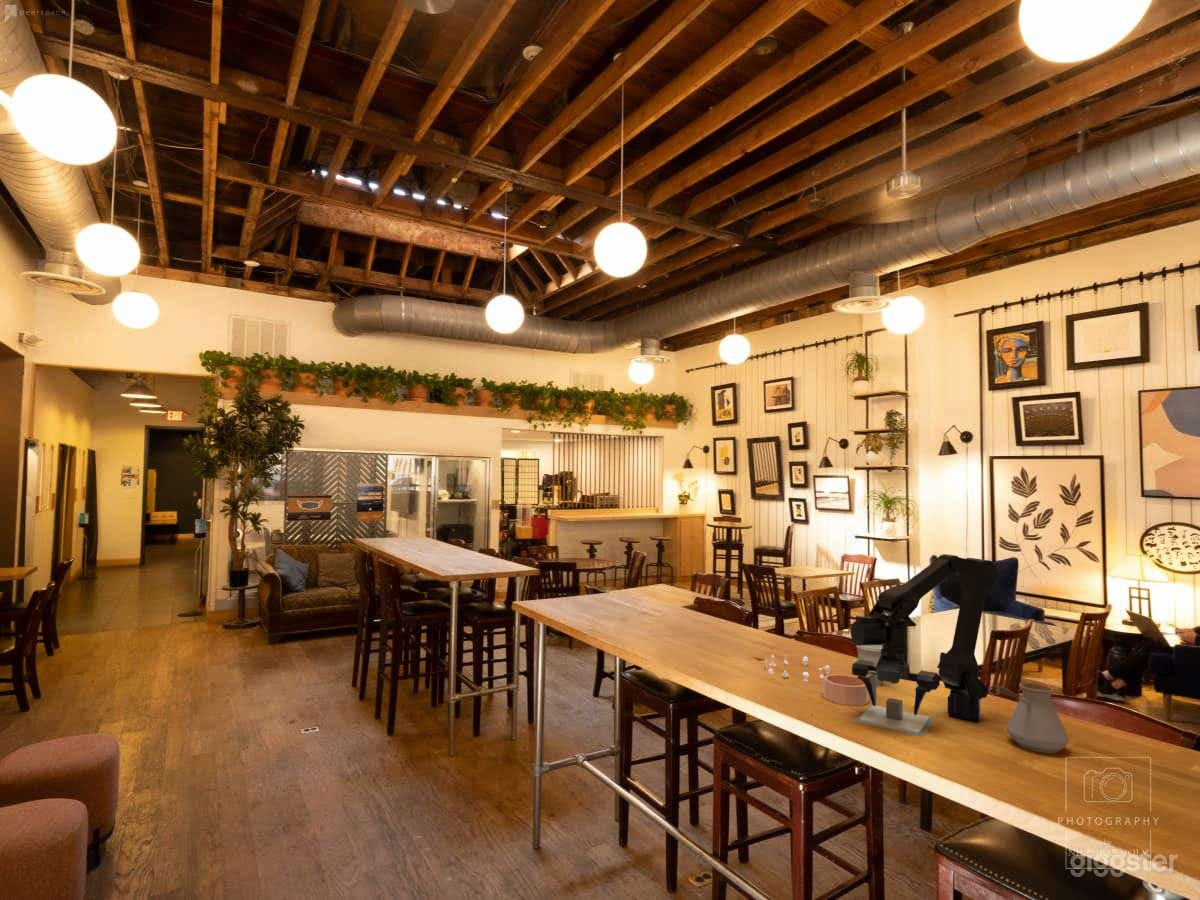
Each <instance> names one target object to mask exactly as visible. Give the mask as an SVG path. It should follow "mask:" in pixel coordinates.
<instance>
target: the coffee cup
mask: <svg viewBox="0 0 1200 900" xmlns="http://www.w3.org/2000/svg"><path fill="white" fill-rule="evenodd" d="M855 646H856V647H857V648H856V650H857V658H858V660H859V659H860V660H865V661H871V662H874V666H876V665H877V663H878V661H879V659H880V656H881V649H882V645H866V646H858V645H856V644H855ZM875 675H876V674H875ZM883 684H884V681H879V680H878V679H877V675H876V687H877V686H882V685H883Z"/></svg>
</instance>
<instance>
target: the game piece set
mask: <svg viewBox="0 0 1200 900" xmlns="http://www.w3.org/2000/svg"><path fill="white" fill-rule="evenodd" d="M770 658H771V661H768V660H767V659H766V660H764V662H765V664H764V665H765V666H764V667H765V669H766V670H767V668H768V665H769V666H770V667H769V669H768V670H767V674H768V675H770V676H771V675H775V674H774V673H775V672H774V667H776V666H777V664H776V662H775V660H774V659H775V655H774V654H772V655H771V657H770ZM808 661H809V658H808V656H806V655H805V656H803V657H802V665H803V666H804V667H808ZM770 662H771V663H770ZM783 664H784V665H789V662H788V660H787V655H784V660H783ZM771 666H772V667H773V668H771ZM823 669H824V670H825V674H826V675H830V672H831V668H830V665H828V664H827V665H825V666H823V667H822V668H821V667H818V669H817V670H818V671H823ZM802 675H803V679H802V680H803V681H804V682H809V677H810V675H809V673H808V671H803V672H802ZM782 677H784V679H787V677H788V678H789V673H787V670H784V672H783V673H782ZM823 677H825V675H823V673H820V675H819V680H823Z"/></svg>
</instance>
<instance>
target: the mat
mask: <svg viewBox="0 0 1200 900" xmlns="http://www.w3.org/2000/svg"><path fill="white" fill-rule="evenodd" d="M871 706H872V705H869V706H868V707H867V708H866V709H864V710H863V711H862V713H860V715H858V716H857V717H856V718H855V719H854V720H853V722H854V723H859V724H864V725H867V726H871V727H876V728H880V729H885V730H889V731H892V732H893V731H894V732H898V733H903V734H907V735H911V736H915V737H920V738H923V737H924V736H925V735H926V733H927V731H928V730H929V729H930V727H931V726H932V724H933V723H934V722H935V720H936V719H935V718H931V717H930V719H929V721H928V722H927V724H926V725H925V726H924V728H923V729H922V731H921V732H920V733H919V735H918V734H913V733H909V732H904V731H900V730H896V729H891V728H887V727H883V726H878V725H874V724H870V723H865V722H861V721H859V718H860V717H861V716H862V715H863V714H864V713H865V712H866V711H867V710H868V709H869V708H870V707H871Z"/></svg>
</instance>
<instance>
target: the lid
mask: <svg viewBox="0 0 1200 900" xmlns="http://www.w3.org/2000/svg"><path fill="white" fill-rule="evenodd" d="M885 702H886V703H885V705H886V707H885V706H880V705H876V706H875V707H874V706H873V704H872V705H871V707H870V708H869V709H868V710H867V711H866V712H865V713H864V714H863V715H862V716H861V717H860V718H859V721H861V722H865V723H870V724H874V725H878V726H883V727H887V728H891V729H896V730H900V731H904V732H909V733H913V734H918V735H919V733H920V732H921V731H922V729H923V728H924V726H925V725H926V724H927V722H928V721H929V719H930V718H931V717H930V716H928V715H924V714H923V715H922V714H918V713H917V715H914V712H908V711H905V710H904V707H903V700H902V699H897V698H893V697H892V698H891V697H889V698H887V700H885Z"/></svg>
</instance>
